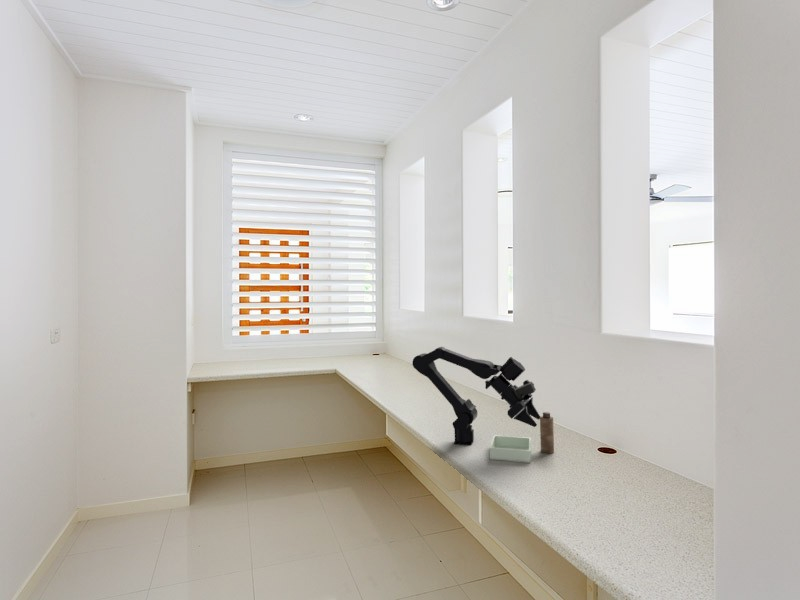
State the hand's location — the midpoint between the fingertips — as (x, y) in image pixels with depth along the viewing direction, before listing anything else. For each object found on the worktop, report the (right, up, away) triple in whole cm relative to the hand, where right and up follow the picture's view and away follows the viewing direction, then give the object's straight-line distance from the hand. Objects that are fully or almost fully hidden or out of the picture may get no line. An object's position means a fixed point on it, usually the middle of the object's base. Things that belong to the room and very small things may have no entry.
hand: (537, 422), depth 160 cm
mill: (+3, -10, -1) cm, 10 cm away
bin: (-10, -10, -2) cm, 15 cm away
